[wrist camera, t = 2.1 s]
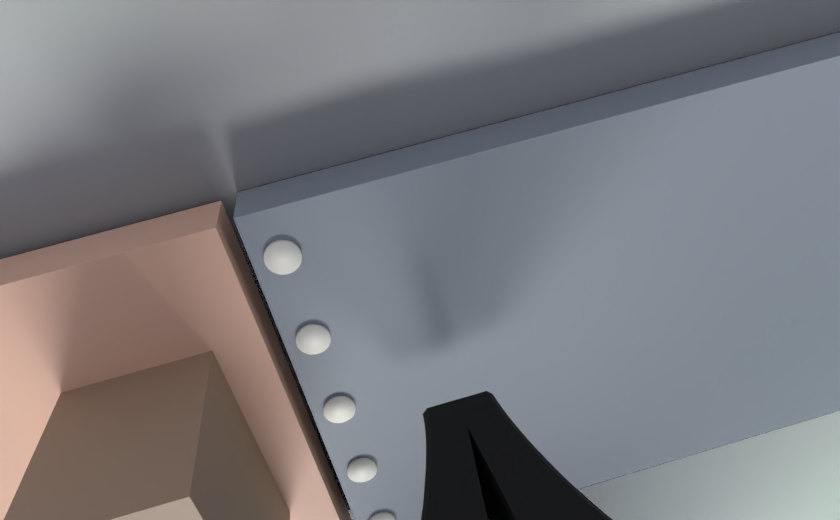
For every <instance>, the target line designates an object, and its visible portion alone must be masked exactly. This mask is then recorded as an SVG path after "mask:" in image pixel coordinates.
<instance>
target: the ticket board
mask: <svg viewBox="0 0 840 520" xmlns="http://www.w3.org/2000/svg"><path fill="white" fill-rule="evenodd" d="M233 219H234V222H235V224H236V227H237V229H238V231H239V234H240V236H241V239H242V241H243V244H244V246H245V249H246V251H247V254H248V256H249V259H250V261H251V264H252V266H253V269H254V271H255V274H256V276H257V279H258V281H259V283H260V286H261V288H262V291H263V293H264V296H265V298H266V301H267V303H268V306H269V308H270V311H271V313H272V316H273V318H274V321H275V323H276V326H277V328H278V331H279V333H280V336H281V338H282V340H283V343H284V345H285V348H286V350H287V353H288V355H289V358H290V360H291V363H292V365H293V368H294V370H295V373H296V375H297V378H298V380H299V383H300V385H301V388H302V390H303V392H304V395H305V397H306V400H307V402H308V405H309V407H310V410H311V412H312V415H313V417H314V420H315V422H316V425H317V427H318V430H319V432H320V435H321V437H322V440H323V442H324V444H325V447H326V449H327V452H328V454H329V457H330V459H331V462H332V464H333V467H334V469H335V472H336V474H337V477H338V479H339V482H340V484H341V487H342V489H343V492H344V494H345V497H346V499H347V501H348V504H349V506H350V509H351V511H352V514H353V516H354V519H355V520H421V516H422V509H423V500H424V486H425V472H426V433H425V424H424V418H423V413H424V411H425V410H426V409H427V408H429V407H433V406H436V405H439V404H443V403H446V402H450V401H453V400H457V399H460V398H464V397H467V396H471V395H474V394H478V393H481V392H485V391H488V392H490V393H492V394H493V395H494V397H495V398H496V400H497V401H498V403H499V404H500V405H501V407H502V408H503V410H504V411H505V412H506V414H507V415H508V416H509V417H510V419H511V420H512V421H513V422H514V424H515V425H516V426H517V427H518V428H519V430H520V431H521V432H522V433H523V434H524V435H525V437H526V438H527V439H528V440H529V441H530V442H531V443H532V444H533V446H534V447H535V448H536V449H537V450H538V451H539V452H540V453H541V454H542V455H543V456H544V457H545V458H546V459H547V460H548V461H549V462H550V463H551V464H552V465H553V466H554V467H555V469H556V470H558V471H559V472H560V473H561V474H562V475H563V476H564V477H565V478H566V479H567V480H568V481H569V482H570V483H571V484H572V485H573V486H574V487H575V488H576V489H580V488H584V487H587V486H590V485H594V484H597V483H600V482H604V481H607V480H610V479H614V478H617V477H620V476H624V475H627V474H630V473H634V472H637V471H640V470H644V469H647V468H650V467H654V466H657V465H660V464H664V463H667V462H670V461H674V460H677V459H680V458H684V457H687V456H690V455H694V454H697V453H700V452H703V451H707V450H710V449H713V448H717V447H720V446H723V445H727V444H730V443H733V442H737V441H740V440H743V439H747V438H750V437H753V436H757V435H760V434H763V433H767V432H770V431H773V430H777V429H780V428H783V427H787V426H790V425H793V424H797V423H800V422H803V421H807V420H810V419H813V418H817V417H820V416H823V415H827V414H830V413H833V412H837V411H840V32H838V33H834V34H830V35H827V36H823V37H819V38H815V39H811V40H808V41H804V42H800V43H796V44H793V45H789V46H785V47H781V48H778V49H774V50H770V51H766V52H763V53H759V54H755V55H751V56H748V57H744V58H740V59H736V60H733V61H729V62H725V63H721V64H718V65H714V66H710V67H706V68H703V69H699V70H695V71H691V72H687V73H684V74H680V75H676V76H672V77H669V78H665V79H661V80H657V81H654V82H650V83H646V84H642V85H639V86H635V87H631V88H627V89H624V90H620V91H616V92H612V93H609V94H605V95H601V96H597V97H594V98H590V99H586V100H582V101H578V102H575V103H571V104H567V105H563V106H560V107H556V108H552V109H548V110H545V111H541V112H537V113H533V114H530V115H526V116H522V117H518V118H515V119H511V120H507V121H503V122H500V123H496V124H492V125H488V126H485V127H481V128H477V129H473V130H470V131H466V132H462V133H458V134H454V135H451V136H447V137H443V138H439V139H436V140H432V141H428V142H424V143H421V144H417V145H413V146H409V147H406V148H402V149H398V150H394V151H391V152H387V153H383V154H379V155H376V156H372V157H368V158H364V159H361V160H357V161H353V162H349V163H345V164H342V165H338V166H334V167H330V168H327V169H323V170H319V171H315V172H312V173H308V174H304V175H300V176H297V177H293V178H289V179H285V180H282V181H278V182H274V183H270V184H267V185H263V186H259V187H255V188H252V189H248V190H244V191H240V192H237V197H236V204H235V210H234V217H233Z"/></svg>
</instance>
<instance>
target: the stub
mask: <svg viewBox="0 0 840 520" xmlns="http://www.w3.org/2000/svg"><path fill="white" fill-rule="evenodd" d="M0 520H352V519H351V517H350V514H349V512H348V509H347V507H346V504H345V502H344V500H343V497H342V495H341V492H340V490H339V487H338V485H337V482H336V480H335V478H334V475H333V473H332V470H331V468H330V465H329V463H328V460H327V458H326V455H325V453H324V451H323V448H322V446H321V443H320V441H319V438H318V436H317V433H316V431H315V428H314V426H313V424H312V421H311V419H310V416H309V414H308V411H307V409H306V406H305V404H304V401H303V399H302V397H301V394H300V392H299V389H298V387H297V384H296V382H295V379H294V377H293V375H292V372H291V370H290V367H289V365H288V362H287V360H286V357H285V355H284V352H283V350H282V348H281V345H280V343H279V340H278V338H277V335H276V333H275V330H274V328H273V325H272V323H271V321H270V318H269V316H268V313H267V311H266V308H265V306H264V303H263V301H262V298H261V296H260V294H259V291H258V289H257V286H256V284H255V281H254V279H253V276H252V274H251V271H250V269H249V267H248V264H247V262H246V259H245V257H244V254H243V252H242V249H241V247H240V245H239V242H238V240H237V237H236V235H235V232H234V230H233V227H232V225H231V222H230V220H229V218H228V215H227V213H226V210H225V208H224V205H223V203H222V200H221V201H217V202H214V203H210V204H206V205H202V206H199V207H195V208H191V209H187V210H184V211H180V212H176V213H172V214H168V215H165V216H161V217H157V218H153V219H150V220H146V221H142V222H138V223H135V224H131V225H127V226H123V227H120V228H116V229H112V230H108V231H105V232H101V233H97V234H93V235H90V236H86V237H82V238H78V239H75V240H71V241H67V242H63V243H60V244H56V245H52V246H48V247H45V248H41V249H37V250H33V251H30V252H26V253H22V254H18V255H15V256H11V257H7V258H3V259H0Z"/></svg>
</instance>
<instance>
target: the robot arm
mask: <svg viewBox="0 0 840 520" xmlns="http://www.w3.org/2000/svg"><path fill="white" fill-rule="evenodd" d="M423 418H424V424H425V433H426V472H425V486H424V500H423V509H422V516H421V520H612V519H611V518H610V517H608V516H607V515H606V514H605V513H604V512H602V511H601V510H600V509H599V508H598V507H597V506H595V505H594V504H593V503H592V502H591V501H590V500H589V499H587V498H586V497H585V496H584V495H583V494H582V493H581V492H580V491H579V490H578V489H576V488H575V487H574V486H573V485H572V484H571V483H570V482H569V481H568V480H567V479H566V478H565V477H564V476H563V475H562V474H561V473H560V472H559V471H558V470H556V469H555V467H554V466H553V465H552V464H551V463H550V462H549V461H548V460H547V459H546V458H545V457H544V456H543V455H542V454H541V453H540V452H539V451H538V450H537V449H536V448H535V447H534V446H533V444H532V443H531V442H530V441H529V440H528V439H527V438H526V437H525V435H524V434H523V433H522V432H521V431H520V430H519V428H518V427H517V426H516V425H515V424H514V422H513V421H512V420H511V419H510V417H509V416H508V415H507V414H506V412H505V411H504V410H503V408H502V407H501V405H500V404H499V403H498V401H497V400H496V398H495V397H494V395H493V394H492V393H490V392H488V391H485V392H481V393H478V394H474V395H471V396H467V397H464V398H460V399H457V400H453V401H450V402H446V403H443V404H439V405H436V406H433V407H429V408H427V409H426V410H425V411H424V413H423Z"/></svg>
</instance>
